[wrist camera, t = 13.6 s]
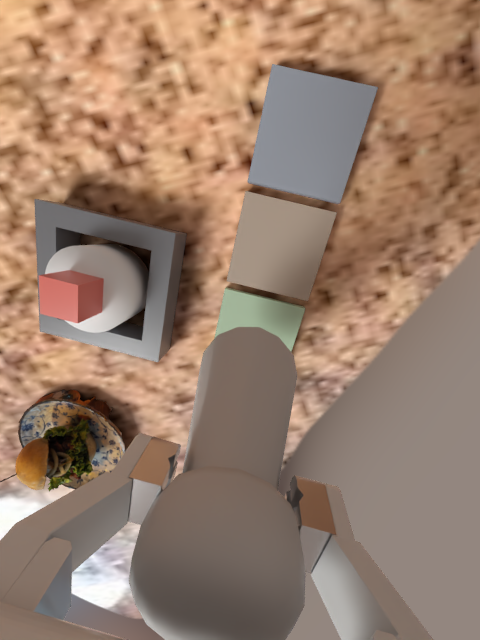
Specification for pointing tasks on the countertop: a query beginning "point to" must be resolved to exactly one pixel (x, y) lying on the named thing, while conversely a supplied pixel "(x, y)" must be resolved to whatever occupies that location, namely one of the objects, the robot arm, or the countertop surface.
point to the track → (297, 178)
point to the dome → (94, 286)
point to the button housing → (167, 245)
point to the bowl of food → (67, 441)
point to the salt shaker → (227, 506)
